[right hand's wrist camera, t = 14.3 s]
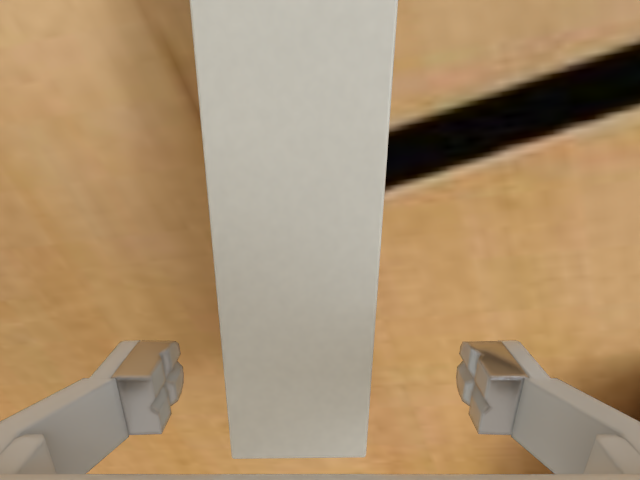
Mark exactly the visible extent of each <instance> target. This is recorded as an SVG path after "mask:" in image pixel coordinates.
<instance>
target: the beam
mask: <svg viewBox="0 0 640 480" xmlns="http://www.w3.org/2000/svg"><path fill="white" fill-rule="evenodd" d="M397 8H398V0H190V11H191V22H192V33H193V43H194V54H195V65H196V76H197V86H198V97H199V108H200V119H201V130H202V140H203V151H204V162H205V173H206V183H207V194H208V205H209V216H210V227H211V237H212V248H213V259H214V270H215V280H216V291H217V302H218V313H219V324H220V334H221V345H222V356H223V367H224V377H225V388H226V399H227V410H228V421H229V431H230V442H231V453H232V458H234V459H248V458H341V457H365V456H366V448H367V433H368V419H369V405H370V391H371V377H372V362H373V348H374V334H375V320H376V306H377V292H378V277H379V263H380V249H381V235H382V221H383V206H384V192H385V178H386V164H387V150H388V136H389V121H390V107H391V93H392V79H393V65H394V50H395V36H396V22H397Z"/></svg>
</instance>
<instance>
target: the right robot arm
mask: <svg viewBox="0 0 640 480" xmlns="http://www.w3.org/2000/svg"><path fill="white" fill-rule="evenodd" d="M180 354H181V353H180V348H179V344H178V343H177V342H176V341H143V340H142V341H140V340H125V341H122V342H120V343H119V344H118V345H117V346H116V347H115V349H114V350H113V351H112V352H111V353H110V355H109V356H108V357H107V358H106V359H105V360H104V362H103V363H102V364H101V365H100V366H99V367H98V369H97V370H96V371H95V372H94V373H93V374H92V376H91V377H90V378H83V379H81V380H79V381H77V382H75V383H73V384H72V385H70V386H68V387H66V388H64V389H62V390H60V391H58V392H56V393H54V394H52V395H50V396H48V397H47V398H45V399H43V400H41V401H39V402H37V403H35V404H33V405H31V406H29V407H27V408H25V409H23V410H22V411H20V412H18V413H16V414H14V415H12V416H10V417H8V418H6V419H4V420H2V421H0V480H640V422H639V421H638V420H636V419H634V418H632V417H630V416H628V415H626V414H624V413H622V412H620V411H618V410H616V409H614V408H613V407H611V406H609V405H607V404H605V403H603V402H601V401H599V400H597V399H595V398H593V397H591V396H590V395H588V394H586V393H584V392H582V391H580V390H578V389H576V388H574V387H572V386H570V385H568V384H567V383H565V382H563V381H561V380H559V379H557V378H550V377H549V376H548V374H547V373H546V372H545V371H544V370H543V369H542V367H541V366H540V365H539V364H538V363H537V362H536V360H535V359H534V358H533V357H532V356H531V355H530V353H529V352H528V351H527V350H526V349H525V348H524V346H523V345H522V344H521V343H520V342H518V341H516V340H506V341H474V342H462V344H461V347H460V353H459V354H460V356H461V358H462V360H463V361H462V362H461V363H460V364H459V366H458V367H457V374H456V380H457V388H458V392H459V395H460V397H461V399H462V401H463V402H464V403H466V404H467V405H469V406H470V408H469V416H470V418H471V420H472V422H473V424H474V426H475V428H476V430H477V432H478V434H496V435H511V437H512V438H513V439H515V440H516V441H517V442H518V443H519V444H520V445H522V446H523V447H524V448H525V449H526V450H527V451H529V452H530V453H531V454H532V455H533V456H534V457H536V458H537V459H538V460H539V461H540V462H541V463H542V464H544V465H545V466H546V467H547V468H548V469H549V470H551V471H552V472H553V473H554V474H86V473H87V472H88V471H90V470H91V469H92V468H93V467H94V466H95V465H96V464H98V463H99V462H100V461H101V460H102V459H103V458H105V457H106V456H107V455H108V454H109V453H110V452H112V451H113V450H114V449H115V448H116V447H117V446H119V445H120V444H121V443H122V442H123V441H124V440H126V439H127V438H128V437H129V435H143V434H162V432H163V430H164V428H165V426H166V424H167V422H168V420H169V418H170V416H171V408H170V406H171V405H173V404H174V403H176V402H177V401H178V399H179V397H180V395H181V392H182V387H183V383H184V372H183V367H182V365H181V364H180V363H179V362H178V361H177V360H178V358H179V356H180Z"/></svg>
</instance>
